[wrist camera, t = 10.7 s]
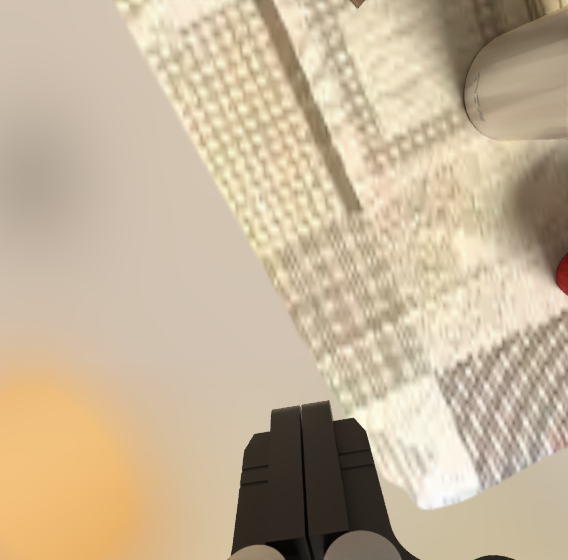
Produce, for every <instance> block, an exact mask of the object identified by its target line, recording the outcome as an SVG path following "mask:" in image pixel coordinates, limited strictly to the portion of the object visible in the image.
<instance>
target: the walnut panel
mask: <svg viewBox="0 0 568 560" xmlns="http://www.w3.org/2000/svg"><path fill="white" fill-rule="evenodd" d="M350 1H351V2H352V3H353V4H354V5H355V6H356V7H357V8H359V7H360V6H361V4H362V3H363V2H364V1H365V0H350Z"/></svg>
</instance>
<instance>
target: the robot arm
mask: <svg viewBox="0 0 568 560" xmlns="http://www.w3.org/2000/svg"><path fill="white" fill-rule="evenodd" d="M464 99H465V106H466V110H467V113H468V116H469V118H470V120H471V122H472V123H473V125H474V126H475V127H476V129H477V130H479V131H480V132H481V133H482V134H483V135H485V136H487V137H489V138H491V139H495V140H500V141H512V140H546V139H568V6H566V7H563V8H561V9H559V10H557V11H554V12H552V13H550V14H547V15H545V16H543V17H541V18H538V19H536V20H533V21H531V22H529V23H527V24H524V25H522V26H520V27H517V28H515V29H513V30H511V31H508V32H506V33H504V34H502V35H500V36H498V37H496V38H494V39H493V40H492V41H490V42H489V43H488V44H487V45H485V46H484V47H483V49H482V50H481V51H480V52H479V53H478V55H477V56H476V58H475V59H474V61H473V63H472V65H471V66H470V69H469V72H468V75H467V77H466V83H465V89H464ZM228 560H420V559H418V558H416V557H415V556H413V555H412V554H410V553H409V552H408V551H406V550H405V549H404V548H403V546H402V545H401V544H400V543H399V542H398V540H397V539H396V537H395V535H394V533H393V531H392V528H391V525H390V522H389V517H388V514H387V510H386V506H385V502H384V498H383V495H382V491H381V487H380V483H379V479H378V475H377V471H376V468H375V464H374V460H373V456H372V452H371V448H370V445H369V441H368V437H367V433H366V431H365V430H364V428H363V427H362V426H361V425H360V424H359V423H358V422H357V421H356V420H355V419H354V418H349V419H343V420H338V421H333V416H332V411H331V406H330V401H329V400H328V401H322V402H317V403H310V404H304V405H302V411H301V407H300V406H293V407H287V408H281V409H274V410H272V412H271V429H270V432H264V433H258V434H254V435H253V437H252V439H251V440H250V442H249V444H248V446H247V447H246V449H245V451H244V457H243V466H242V473H241V481H240V489H239V498H238V507H237V514H236V522H235V530H234V538H233V546H232V552H231V556H230V558H228ZM475 560H514V559H512V558H508V557H505V556H498V555H489V556H483V557H480V558H478V559H475Z"/></svg>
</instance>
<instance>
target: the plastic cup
mask: <svg viewBox="0 0 568 560" xmlns="http://www.w3.org/2000/svg"><path fill="white" fill-rule="evenodd" d="M557 282H558V285H559V287H560V289H561V290H562V291H563V292H564V293H565V294H566V295H568V254H567V255H566V256H565V257H564V258H563V260H562V261H561V263H560V265H559V268H558V270H557Z"/></svg>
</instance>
